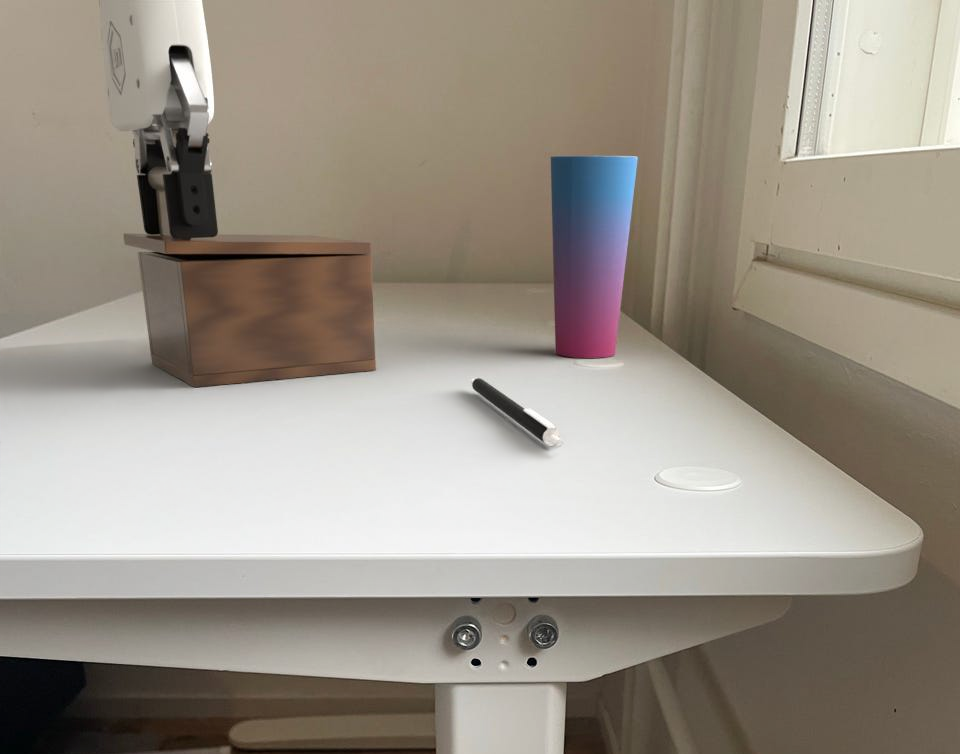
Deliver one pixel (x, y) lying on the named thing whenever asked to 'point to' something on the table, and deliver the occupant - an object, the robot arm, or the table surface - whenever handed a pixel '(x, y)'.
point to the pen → (519, 413)
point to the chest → (258, 315)
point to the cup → (590, 250)
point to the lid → (233, 237)
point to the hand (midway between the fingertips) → (180, 233)
